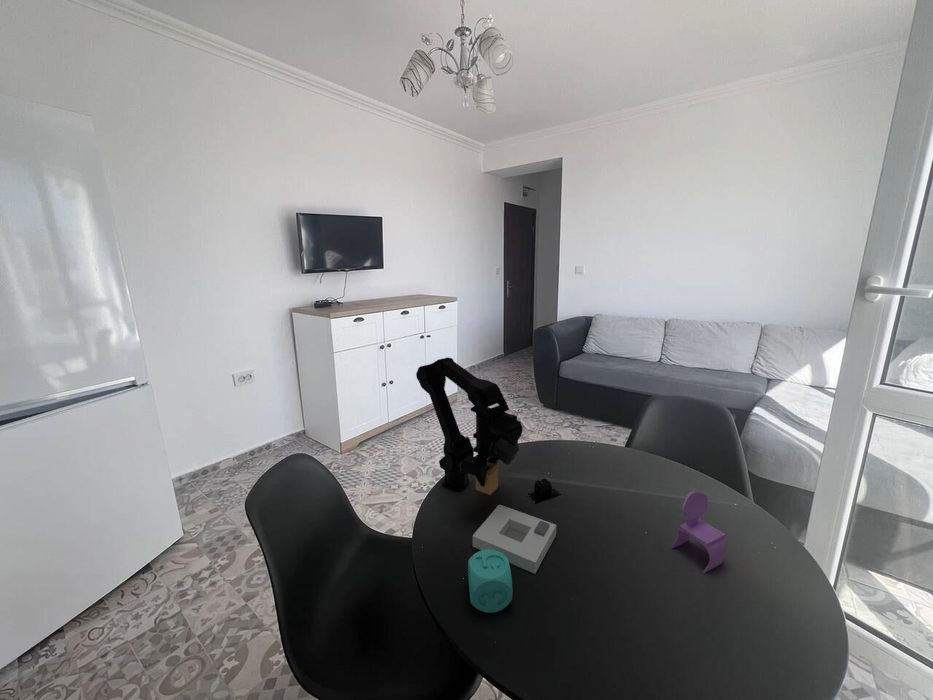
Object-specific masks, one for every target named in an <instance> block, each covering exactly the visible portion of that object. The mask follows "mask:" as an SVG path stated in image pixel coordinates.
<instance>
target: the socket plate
mask: <svg viewBox="0 0 933 700" xmlns="http://www.w3.org/2000/svg"><path fill="white" fill-rule="evenodd" d="M557 526H558V525H557V524H555V523H552V522H550V521H546V520H544V519H541V518H538V517H536V516H533V515H530V514H527V513H524V512H522V511H519V510H516V509H513V508H510V507H508V506H505V505H501V504H498V505H497V506H496V508H494V510H493V511H492V512H491V513H490V514H489V516H488V517H487V518H486V519H485V521H484V522H483V523H482V524H481V525H480V527H478V529H477V530H476V531H475V532H474V533H473V535H472V548H476V549H477V550H479V551H481V550H485V549H492V550H496V551H499V552H500V553H502V554H504V555H505V556H506V557H507V558H508V561H509V564H511V565H514V566H516V567H518V568H520V569H523V570H525V571H527V572H529V573H532V574H534V575H536V573H537V572H538V570H539V567H540V566H541V563H542V562H543V560H544V558H545V557H546V554H547V553H548V551H549V549H550V547H551V546H552V543H553V542H554V539H555V538H556V537H557Z"/></svg>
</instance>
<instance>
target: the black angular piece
mask: <svg viewBox="0 0 933 700" xmlns="http://www.w3.org/2000/svg"><path fill="white" fill-rule="evenodd" d="M552 488H553V486H552V482H550V481H549V480H548V479H547V478H542V479H540V480H537V481H534V486H533V491H534V492H532V491H530V492H531V493H529V492H527V493H528V495H530V496H529V497H531V499H532V500H531V499H530V500H531V502H533V501H535V503H534V505H538V504H540V503H543V502H546V501H548V500H551V499H554V498H558V497H560V496H562V494H561V493H560V492H559V491H557V490H556V489H555V488H553V489H552ZM529 497H528V498H529ZM542 501H543V502H542ZM537 503H538V504H537Z"/></svg>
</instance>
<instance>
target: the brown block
mask: <svg viewBox="0 0 933 700" xmlns="http://www.w3.org/2000/svg"><path fill="white" fill-rule="evenodd" d="M487 466H490V467H491V468H490V469H489V470H488V471H487V472H486V481H485V486H484V487H483V486H481V485H480V484H479V482H478V480H477V478H476V477H475V491H478V492H481V493H484V494H486V495H489V496H491V495H492V494H493V493H494V492H495V491H496V490H497V489H498V487H499V467H498V463H497V464H494V463H491V462H488V463H487Z"/></svg>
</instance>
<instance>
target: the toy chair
mask: <svg viewBox="0 0 933 700" xmlns="http://www.w3.org/2000/svg"><path fill="white" fill-rule="evenodd" d="M708 502H709V499H708V496H707V494H705V493H704V492H700V491H691V492H689V493H687V495H686V496H685V499H684V502H683V504H682V509H681V511H682V513H683V515H685V517H686V521H685V523H682V524H680V525H679V528H678V529H677V531H676V538H675V539H674V542H673V543H672V545H670V549H672V550H673V549H674V548H677V547H679V546H681V545H683V544H684V543H687V542H689V541H690V537H692V538H693V539H694V540H696V541H697V542H698V543H699V544H701V545H702V546H703V547H705V550H706V551H707V553H708V556H709V561H708V564H707V566H706V567H705V568H704V570H703V571H702V573H703V574H705V573H708V572H709V571H711V570H712V569H715V568H717V567H718V566H720V565H721V564H723V560H724V555H725V552H726V548H727V539H726V533H724V532H723V531H720V530H719V529H717V528H715V527H713V526H712V525H711V524H709V523H707V522H706V521H704V520H703V519H702V518H700V517H701V516H703V515H704V514H705V513H706V512H707V509H708V508H707V507H708Z"/></svg>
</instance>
